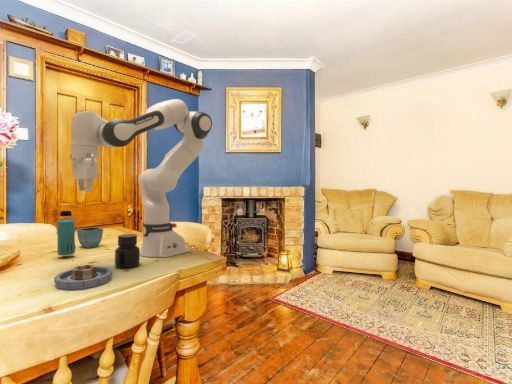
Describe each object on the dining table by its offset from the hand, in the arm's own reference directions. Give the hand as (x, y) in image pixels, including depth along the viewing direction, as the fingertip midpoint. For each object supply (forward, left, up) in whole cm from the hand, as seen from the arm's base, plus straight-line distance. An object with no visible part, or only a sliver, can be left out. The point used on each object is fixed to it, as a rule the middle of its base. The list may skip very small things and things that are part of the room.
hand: (85, 191), depth 110 cm
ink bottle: (-13, +7, -29) cm, 33 cm away
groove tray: (+4, +15, -29) cm, 33 cm away
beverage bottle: (+2, -22, -29) cm, 37 cm away
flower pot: (-11, -37, -29) cm, 49 cm away
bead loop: (+4, +15, -28) cm, 32 cm away
